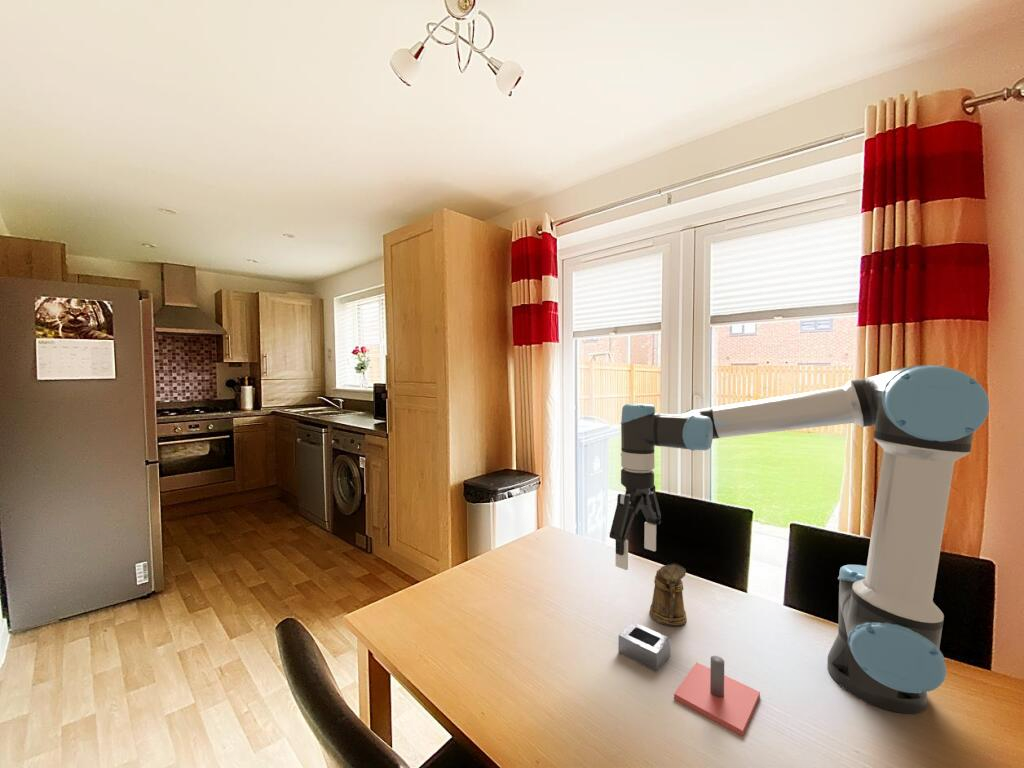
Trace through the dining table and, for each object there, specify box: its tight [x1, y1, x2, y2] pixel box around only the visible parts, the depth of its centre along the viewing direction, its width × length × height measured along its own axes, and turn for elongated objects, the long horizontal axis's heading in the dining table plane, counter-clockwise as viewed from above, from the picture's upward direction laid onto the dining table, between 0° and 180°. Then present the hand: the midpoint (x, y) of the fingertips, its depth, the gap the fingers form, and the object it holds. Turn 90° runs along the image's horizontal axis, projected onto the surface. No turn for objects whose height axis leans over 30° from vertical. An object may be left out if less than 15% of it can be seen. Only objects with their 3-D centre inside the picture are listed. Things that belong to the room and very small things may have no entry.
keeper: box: [673, 655, 761, 737], centre depth 79 cm, size 12×12×8 cm
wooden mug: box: [649, 562, 688, 627], centre depth 104 cm, size 9×14×18 cm, turn 167°
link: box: [617, 621, 671, 673], centre depth 92 cm, size 9×7×4 cm
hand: (636, 558), depth 97 cm, fingers open, 13 cm apart
